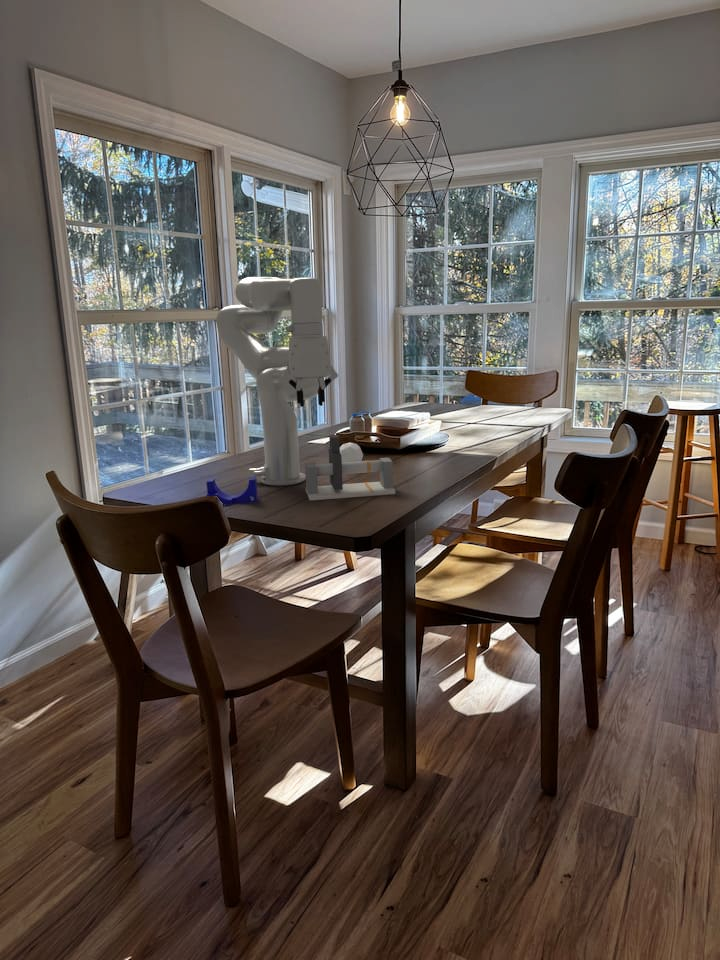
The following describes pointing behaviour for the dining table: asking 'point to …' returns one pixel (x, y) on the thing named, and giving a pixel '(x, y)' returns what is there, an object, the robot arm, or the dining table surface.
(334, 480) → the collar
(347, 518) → the dining table surface
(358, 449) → the geometric ball
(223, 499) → the blue pipe cradle
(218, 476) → the dining table surface
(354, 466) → the pipe stand
